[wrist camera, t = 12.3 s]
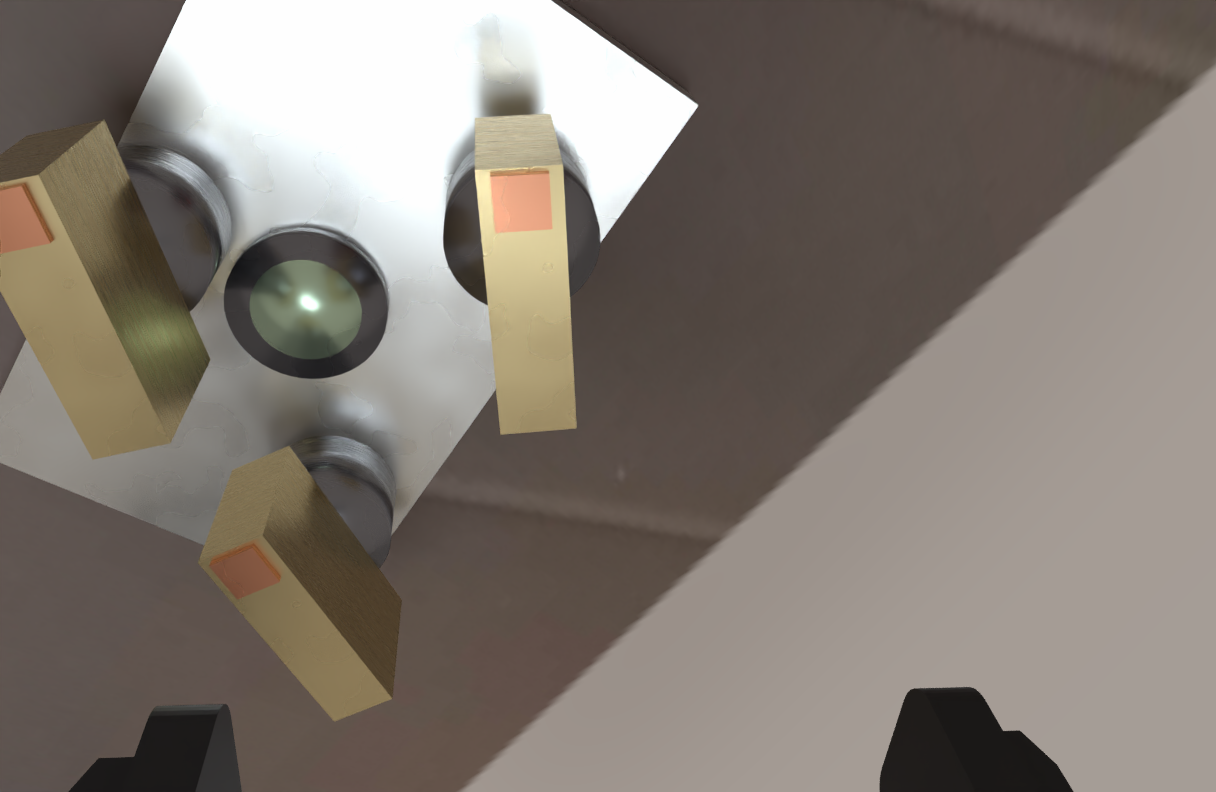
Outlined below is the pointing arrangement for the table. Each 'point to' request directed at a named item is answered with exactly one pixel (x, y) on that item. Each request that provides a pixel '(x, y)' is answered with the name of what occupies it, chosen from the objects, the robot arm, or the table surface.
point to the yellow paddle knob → (111, 277)
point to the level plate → (345, 228)
